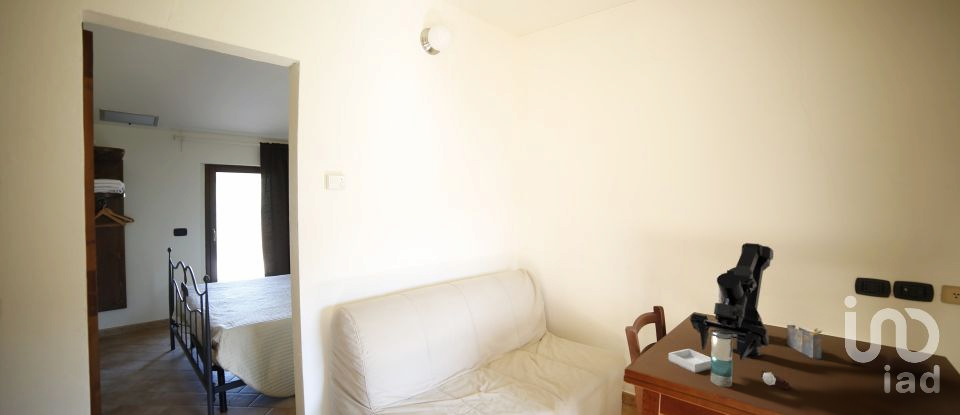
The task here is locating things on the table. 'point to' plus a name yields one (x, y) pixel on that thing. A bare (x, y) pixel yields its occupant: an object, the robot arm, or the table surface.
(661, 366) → the table surface
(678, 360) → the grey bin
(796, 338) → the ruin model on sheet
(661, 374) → the table surface
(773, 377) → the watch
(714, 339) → the tin canister
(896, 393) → the table surface
